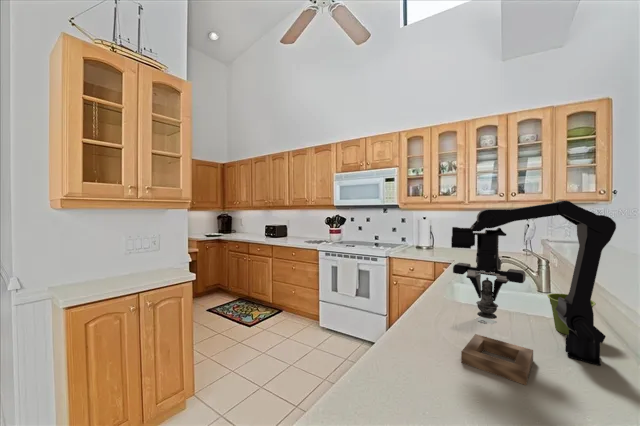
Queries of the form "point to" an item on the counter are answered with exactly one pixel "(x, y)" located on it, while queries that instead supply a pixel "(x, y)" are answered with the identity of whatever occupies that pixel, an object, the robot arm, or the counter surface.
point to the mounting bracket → (485, 320)
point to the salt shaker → (487, 301)
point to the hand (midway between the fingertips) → (487, 299)
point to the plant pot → (558, 322)
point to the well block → (495, 365)
